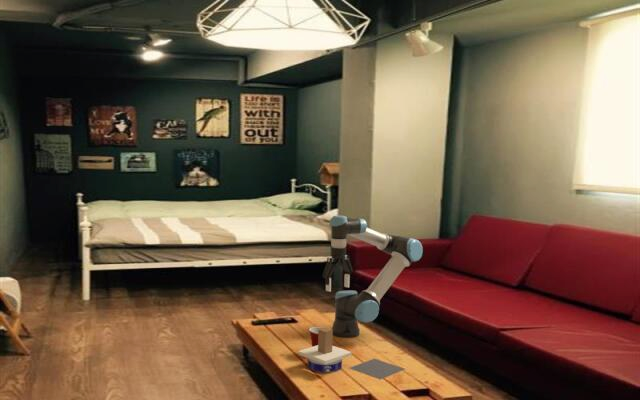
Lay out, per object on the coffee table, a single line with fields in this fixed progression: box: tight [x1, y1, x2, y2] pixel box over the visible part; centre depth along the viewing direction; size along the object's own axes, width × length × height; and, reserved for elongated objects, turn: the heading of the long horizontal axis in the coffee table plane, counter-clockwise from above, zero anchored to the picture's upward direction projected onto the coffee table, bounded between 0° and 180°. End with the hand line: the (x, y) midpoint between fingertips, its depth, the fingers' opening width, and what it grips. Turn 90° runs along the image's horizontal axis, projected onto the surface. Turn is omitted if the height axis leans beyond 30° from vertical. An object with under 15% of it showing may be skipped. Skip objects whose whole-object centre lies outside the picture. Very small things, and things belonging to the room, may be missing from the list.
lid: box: [297, 327, 353, 364], centre depth 259 cm, size 17×17×12 cm
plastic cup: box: [308, 326, 324, 347], centre depth 277 cm, size 11×11×12 cm
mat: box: [349, 358, 406, 380], centre depth 258 cm, size 18×18×1 cm
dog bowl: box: [307, 358, 343, 374], centre depth 259 cm, size 15×15×6 cm
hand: (337, 289), depth 288 cm, fingers open, 13 cm apart
